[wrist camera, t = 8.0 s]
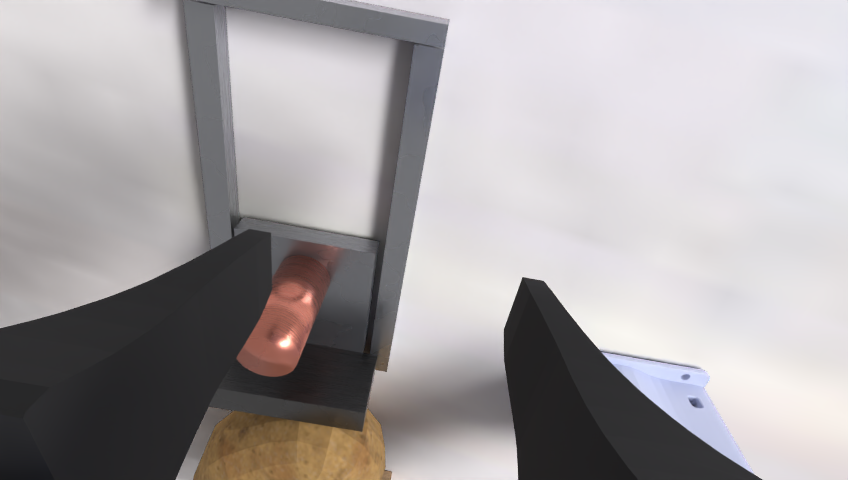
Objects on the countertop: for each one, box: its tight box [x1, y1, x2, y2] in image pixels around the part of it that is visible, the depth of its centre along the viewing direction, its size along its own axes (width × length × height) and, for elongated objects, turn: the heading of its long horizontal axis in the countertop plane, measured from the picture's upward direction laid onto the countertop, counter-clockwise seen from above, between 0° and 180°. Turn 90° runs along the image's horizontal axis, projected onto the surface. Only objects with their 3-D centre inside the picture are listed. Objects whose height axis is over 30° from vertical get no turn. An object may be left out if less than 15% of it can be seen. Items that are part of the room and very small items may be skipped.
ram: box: [209, 217, 379, 432], centre depth 23 cm, size 9×9×7 cm
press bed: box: [183, 0, 449, 480], centre depth 24 cm, size 14×34×6 cm, turn 170°
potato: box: [193, 409, 385, 480], centre depth 28 cm, size 10×14×8 cm
